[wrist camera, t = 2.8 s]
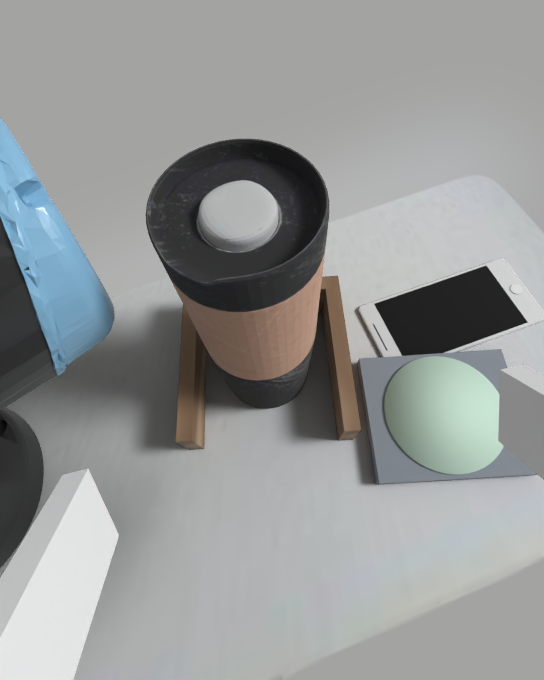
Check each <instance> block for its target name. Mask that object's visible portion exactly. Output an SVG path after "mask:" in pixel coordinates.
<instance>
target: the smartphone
mask: <svg viewBox="0 0 544 680" xmlns="http://www.w3.org/2000/svg"><path fill="white" fill-rule="evenodd" d="M358 312H359V314H360V316H361V318H362V320H363V322H364V324H365V325H366V327H367V329H368V331H369V333H370V335H371V337H372V339H373V341H374V343H375V345H376V347H377V349H378V351H379V353H380V355H381V356H382V357H393V356H408V355H423V354H438V353H453V352H459V351H462V350H465V349H468V348H470V347H473V346H476V345H479V344H481V343H484V342H487V341H490V340H492V339H495V338H498V337H501V336H503V335H506V334H509V333H512V332H515V331H517V330H520V329H523V328H526V327H528V326H531V325H534V324H537V323H539V322H542V321H543V320H544V310H543V309H542V308H541V307H540V305H539V304H538V303H537V301H536V300H535V299H534V297H533V296H532V295H531V293H530V292H529V291H528V289H527V288H526V287H525V285H524V284H523V283H522V282H521V280H520V279H519V278H518V276H517V275H516V274H515V272H514V271H513V270H512V268H511V267H510V266H509V264H508V263H507V262H506V260H504V259H497V260H494V261H491V262H488V263H485V264H482V265H479V266H476V267H473V268H470V269H468V270H465V271H462V272H459V273H456V274H453V275H450V276H447V277H444V278H441V279H438V280H435V281H432V282H429V283H426V284H424V285H421V286H418V287H415V288H412V289H409V290H406V291H403V292H400V293H397V294H394V295H391V296H388V297H385V298H382V299H380V300H377V301H374V302H371V303H368V304H365V305H362V306H361V307H360V308H359V310H358Z"/></svg>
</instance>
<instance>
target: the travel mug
mask: <svg viewBox="0 0 544 680" xmlns="http://www.w3.org/2000/svg"><path fill="white" fill-rule="evenodd" d="M328 220H329V198H328V192H327V188H326V185H325V183H324V180H323V179H322V177H321V175H320V173H319V172H318V171H317V169H316V168H315V167H314V165H313V164H311V162H309V161H308V160H307V159H306V158H305V157H303V156H302V155H301V154H299V153H298V152H296V151H294V150H292V149H290V148H288V147H286V146H283V145H281V144H277V143H273V142H270V141H265V140H259V139H232V140H225V141H220V142H215V143H212V144H208V145H205V146H203V147H200V148H198V149H196V150H193V151H192V152H189V153H187V154H186V155H184V156H183V157H181V158H180V159H178V160H177V161H176V162H174V163H173V164H172V165H171V166H170V167H169V168H168V169H166V170H165V171H164V173H163V174H162V175H161V176H160V178H159V179H158V180H157V182H156V184H155V185H154V187H153V189H152V191H151V193H150V196H149V199H148V203H147V209H146V224H147V229H148V233H149V236H150V239H151V242H152V244H153V246H154V248H155V250H156V252H157V254H158V255H159V258H160V260H161V262H162V263H163V265H164V267H165V269H166V271H167V273H168V275H169V277H170V279H171V281H172V283H173V285H174V287H175V289H176V291H177V293H178V295H179V297H180V298H181V300H182V302H183V304H184V306H185V308H186V310H187V312H188V314H189V316H190V318H191V320H192V322H193V324H194V326H195V328H196V330H197V332H198V334H199V335H200V337H201V339H202V341H203V343H204V345H205V347H206V349H207V351H208V353H209V355H210V356H211V358H212V359H213V361H214V363H215V364H216V366H217V367H218V369H219V370H220V372H221V373H222V375H223V377H224V378H225V380H226V381H227V383H228V384H229V386H230V387H231V389H232V390H233V392H234V393H235V394H236V395H237V396H238V397H239V398H240V399H241V400H242V401H244V402H245V403H247V404H249V405H251V406H254V407H258V408H274V407H279V406H281V405H284V404H286V403H288V402H289V401H291V400H292V399H293V398H294V397H295V396H296V395H297V394H298V393H299V392H300V390H301V389H302V387H303V385H304V383H305V380H306V377H307V373H308V368H309V363H310V359H311V354H312V349H313V344H314V339H315V334H316V326H317V317H318V308H319V299H320V290H321V282H322V273H323V264H324V255H325V246H326V238H327V229H328Z"/></svg>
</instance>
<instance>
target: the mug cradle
mask: <svg viewBox="0 0 544 680" xmlns="http://www.w3.org/2000/svg"><path fill="white" fill-rule="evenodd" d="M318 311H322V314H323V322H324V330H325V339H326V347H327V355H328V363H329V371H330V379H331V387H332V395H333V403H334V411H335V419H336V427H337V435H338V440H352V439H354V438H355V437H356V435H357V434H358V433H359V432H360V431H361V425H360V419H359V412H358V405H357V399H356V392H355V385H354V379H353V372H352V366H351V359H350V352H349V346H348V339H347V332H346V326H345V319H344V313H343V306H342V299H341V293H340V286H339V279H338V276H328V277H322V282H321V290H320V299H319V308H318ZM205 386H206V347H205V345H204V343H203V341H202V339H201V337H200V335H199V334H198V332H197V330H196V328H195V326H194V324H193V322H192V320H191V318H190V316H189V314H188V312H187V310H186V308H185V306H184V304H183V314H182V333H181V352H180V371H179V390H178V408H177V427H176V442H177V443H179V444H180V445H182V446H184V447H186V448H188V449H189V450H191V449H204V432H205Z"/></svg>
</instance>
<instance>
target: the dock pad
mask: <svg viewBox="0 0 544 680" xmlns="http://www.w3.org/2000/svg"><path fill="white" fill-rule="evenodd" d="M357 366H358V373H359V379H360V385H361V392H362V398H363V404H364V411H365V417H366V423H367V430H368V436H369V442H370V449H371V455H372V461H373V468H374V474H375V480H376V484H393V483H410V482H427V481H444V480H461V479H478V478H494V477H511V476H528V475H538V474H537V473H535V472H534V471H533V470H532V469H531V468H530V467H528V466H527V465H526V464H525V463H524V462H523V461H521V460H520V459H519V458H518V457H517V456H515V455H514V454H513V453H512V452H511V451H510V450H508V449H507V448H506V447H505V446H504V445H503V444H501V443H500V442H499V441H498V430H499V395H500V370H501V369H505V368H507V365H506V362H505V359H504V356H503V353H502V350H501V349H497V350H482V351H468V352H453V353H438V354H423V355H408V356H393V357H378V358H363V359H359V361H358V363H357Z"/></svg>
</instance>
